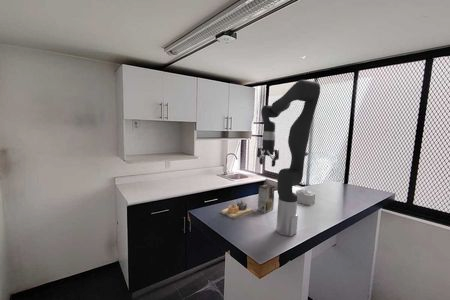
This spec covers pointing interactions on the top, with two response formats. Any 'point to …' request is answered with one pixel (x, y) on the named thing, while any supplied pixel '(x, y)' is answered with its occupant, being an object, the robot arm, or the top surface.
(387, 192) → the top surface
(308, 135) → the robot arm
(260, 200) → the coffee box
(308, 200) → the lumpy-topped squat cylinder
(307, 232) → the top surface
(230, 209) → the gear
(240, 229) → the top surface
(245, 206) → the gear board
